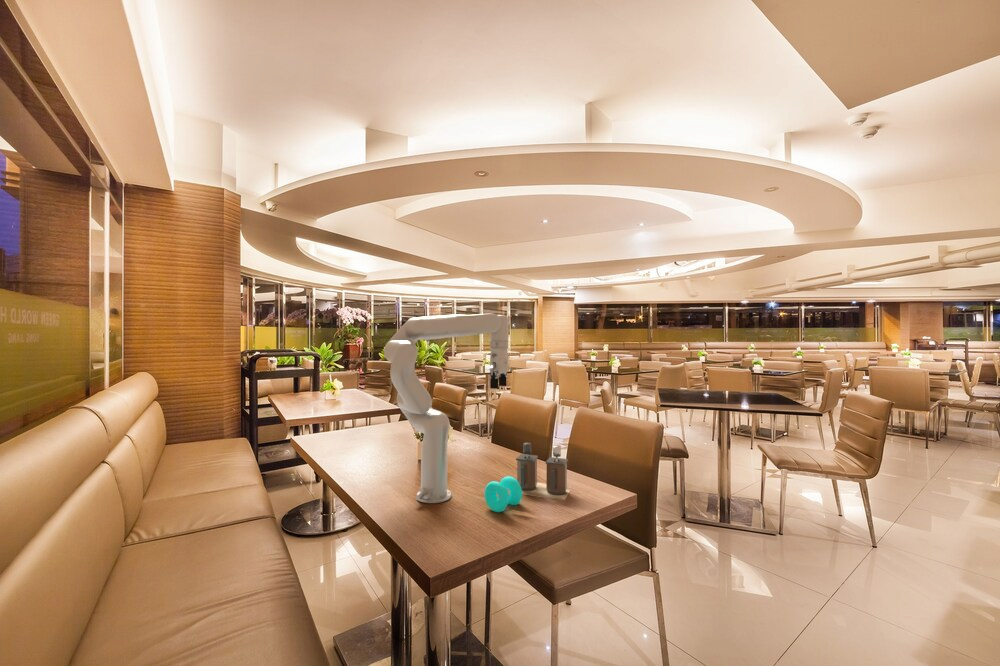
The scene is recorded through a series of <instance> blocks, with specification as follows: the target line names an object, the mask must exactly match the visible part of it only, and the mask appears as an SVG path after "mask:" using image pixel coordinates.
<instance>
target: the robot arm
mask: <svg viewBox="0 0 1000 666" xmlns="http://www.w3.org/2000/svg"><path fill="white" fill-rule="evenodd" d="M484 334H489V350H490V356H489V357H490V358H489V386H490V387H489V388H490V389H492V390H497V389H499V386H500V387H507V375H508V372H509V352H508V349H509V318H508V315H505V314H496V313H493V312H491V313H490V312H489V313H477V314H445V315H428V316H417V317H416V316H415V317H411V318H408V320H406V322H405V323H404V324H402V326H401V327H400V328H399V329H398V330H397V331H396V333H394V334H393V336H392V337H391V338H390V339H389V340H388V341H387V342H386V344H385V346H384V348H383V354H384V357H385V359H386V360H387V361H388V362H389V363H391V365H390V369H389V370H390V372H389V373H390V380H391V383H392V385H393V387H394V388H395V390H396V391H397V395H396V404H397V405H398V408H399V409H400V411H401V412H402V413H403V416H405V418H406V419H407V420H408V422H409V423H410V425H412V428H414V429H415V431H417V432H419V433H421V434H423V438H422V442H421V448H420V449H421V450H420V490H419V491H418V492H417V493H416V495H415V497H414V498H415V500H416V501H418V502H420V503H424V504H438V503H444V502H446V501H448V500H449V499H451V497H452V491H450V490H449V489H448V443H449V442H448V441H449V440H448V439H449V435H450V434H449V433H450V430H451V424H450V423H451V422H450V419H449V417H448V415H447V414H446V413H444V412H443V411H440V410H437V409H434V408H432V406H433V399H432V397H431V394H430V393H429V392H428V390H427V388H426V387H425V386H424V385H423V383H422V382H421V380H420V378H419V376H418V375H417V373H416V370H415V368H416V366H415V365H416V362H417V359H418V354H419V351H418V347H417V345H416V343H417V342H418V341H430V340H437V339H438V340H439V339H447V338H460V337H466V336H472V335H473V336H474V335H484Z"/></svg>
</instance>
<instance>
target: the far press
mask: <svg viewBox="0 0 1000 666" xmlns="http://www.w3.org/2000/svg"><path fill="white" fill-rule="evenodd" d="M522 447H523V448H522V450H523V451H522V452H523V453H520V454H519V455H518V456H517V457H516V458H515V460H516V463H517V465H516V466H517V467H516V480H517V481H518V482H519V484H520V486H521V489H522V490H523V491H532V490H535V489H536V485H537V482H538V458H539V455H535V454H532V443H531V442H523V445H522Z"/></svg>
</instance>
